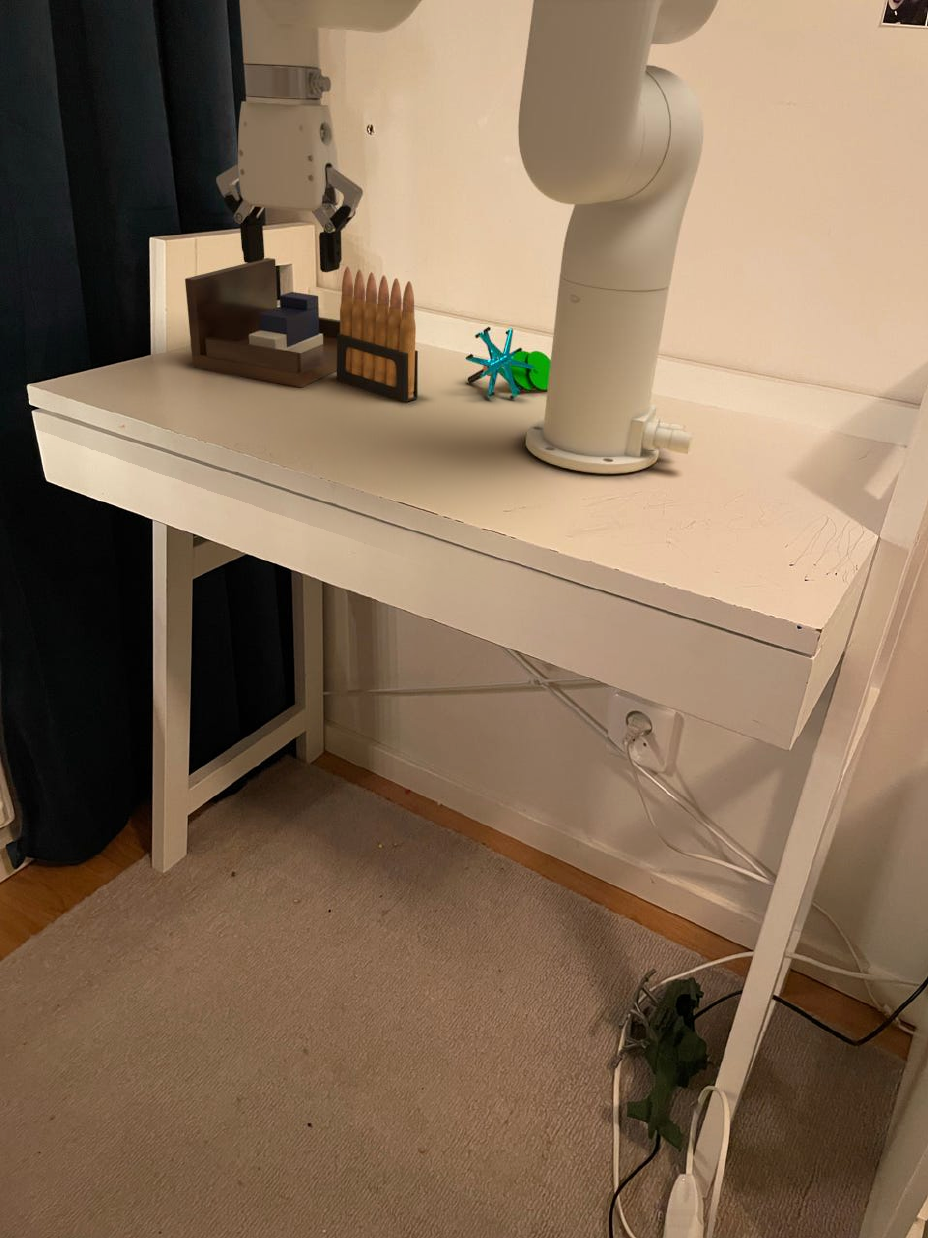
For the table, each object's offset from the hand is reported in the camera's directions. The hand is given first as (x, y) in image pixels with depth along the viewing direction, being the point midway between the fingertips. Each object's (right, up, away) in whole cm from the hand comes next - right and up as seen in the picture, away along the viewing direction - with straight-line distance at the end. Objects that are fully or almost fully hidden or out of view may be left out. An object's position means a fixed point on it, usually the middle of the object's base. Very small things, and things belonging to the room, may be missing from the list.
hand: (291, 265), depth 103 cm
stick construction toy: (+23, -13, +2) cm, 27 cm away
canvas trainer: (-1, -8, +4) cm, 9 cm away
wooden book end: (-2, -9, +6) cm, 11 cm away
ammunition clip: (+9, -14, -1) cm, 17 cm away
